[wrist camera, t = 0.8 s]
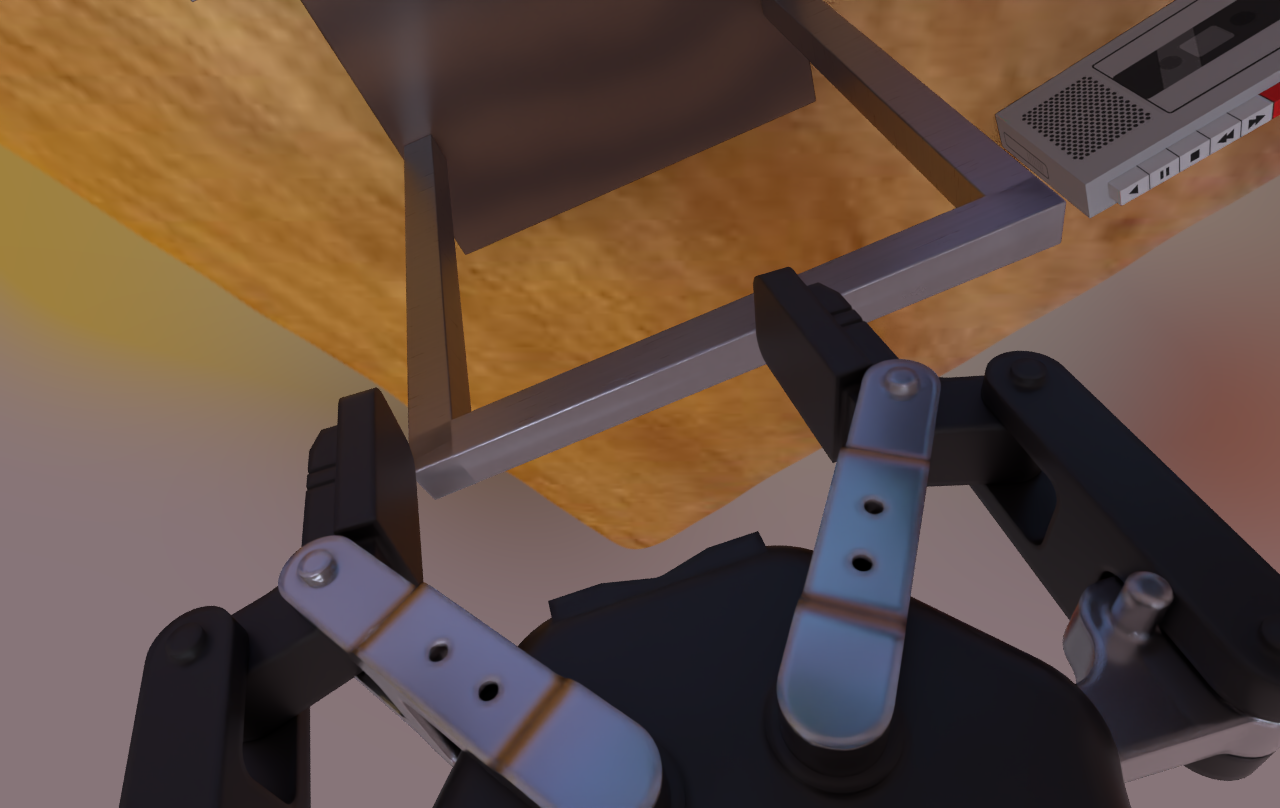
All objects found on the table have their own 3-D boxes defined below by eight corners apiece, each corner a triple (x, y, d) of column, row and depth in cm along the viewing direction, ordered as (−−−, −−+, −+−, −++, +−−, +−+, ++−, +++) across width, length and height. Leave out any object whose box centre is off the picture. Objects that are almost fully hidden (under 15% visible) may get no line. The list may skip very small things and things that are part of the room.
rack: (97, -333, 26) (-413, -299, 10) (683, -649, 24) (1291, -1274, 8) (463, 242, 45) (502, 580, 28) (806, 90, 43) (1057, 360, 27)
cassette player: (1248, -46, 43) (1409, 11, 36) (1246, -5, 45) (1398, 57, 38) (995, 114, 47) (1097, 193, 40) (1002, 146, 49) (1101, 227, 42)
